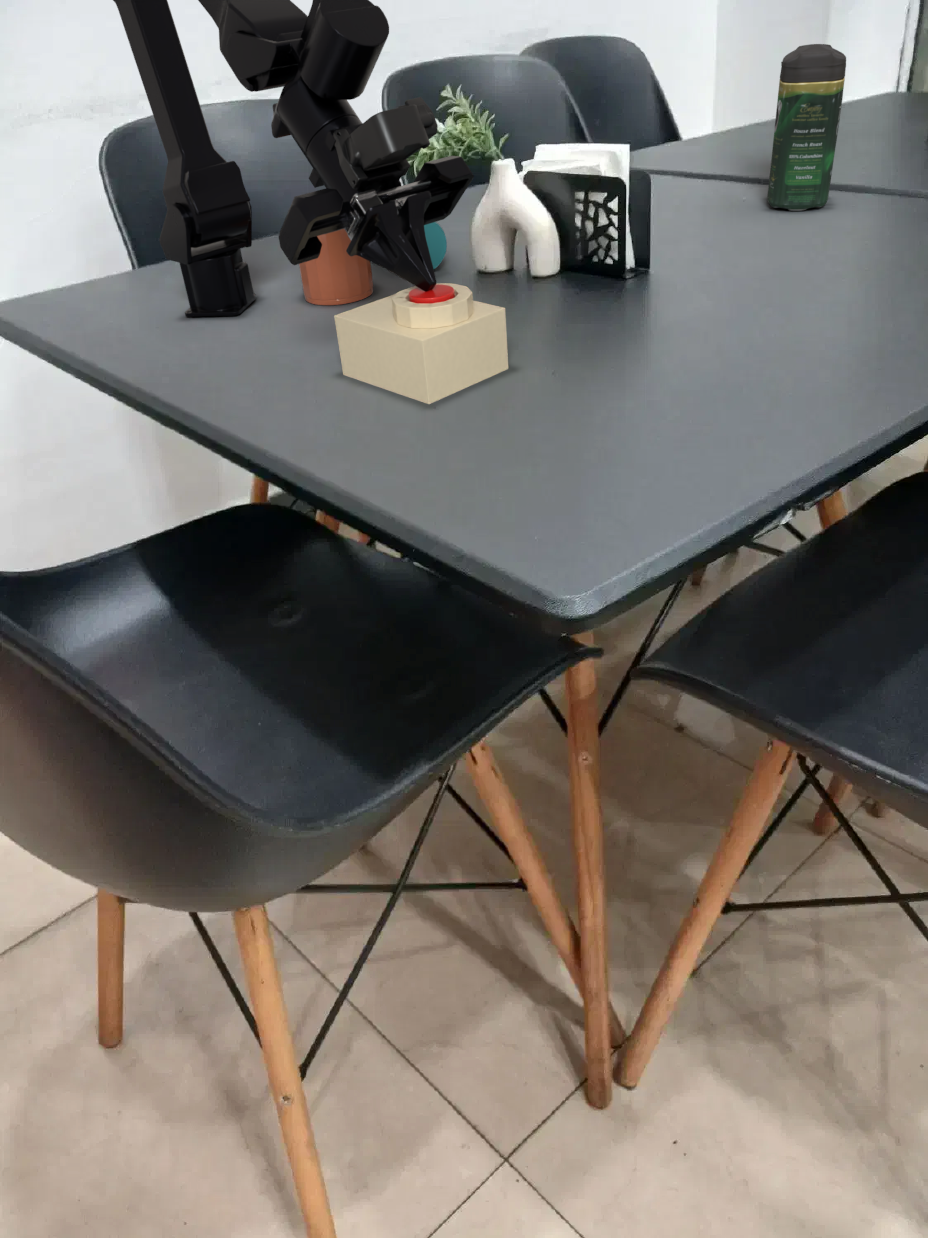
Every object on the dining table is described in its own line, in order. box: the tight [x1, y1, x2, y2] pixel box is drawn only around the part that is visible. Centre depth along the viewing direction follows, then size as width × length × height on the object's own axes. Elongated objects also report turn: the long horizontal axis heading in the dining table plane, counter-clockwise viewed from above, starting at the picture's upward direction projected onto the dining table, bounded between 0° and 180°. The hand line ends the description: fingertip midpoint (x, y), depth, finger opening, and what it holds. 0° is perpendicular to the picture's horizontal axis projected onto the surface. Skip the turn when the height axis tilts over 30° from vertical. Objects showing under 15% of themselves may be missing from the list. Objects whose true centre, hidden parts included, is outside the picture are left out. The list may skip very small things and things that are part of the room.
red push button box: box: [333, 282, 509, 405], centre depth 88 cm, size 12×10×8 cm
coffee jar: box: [767, 43, 847, 212], centre depth 125 cm, size 10×8×19 cm
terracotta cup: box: [298, 229, 374, 306], centre depth 110 cm, size 8×8×9 cm
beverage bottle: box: [424, 222, 448, 270], centre depth 121 cm, size 6×7×20 cm
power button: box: [409, 284, 455, 304], centre depth 85 cm, size 4×4×2 cm
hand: (431, 287), depth 84 cm, fingers closed, pressing on power button
